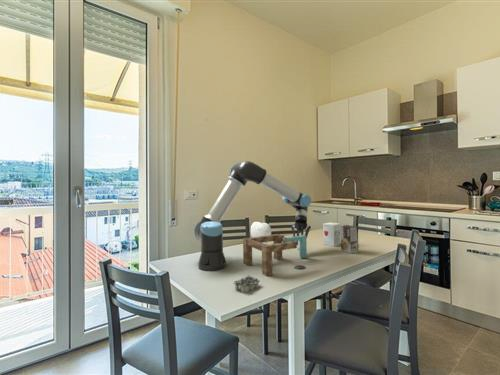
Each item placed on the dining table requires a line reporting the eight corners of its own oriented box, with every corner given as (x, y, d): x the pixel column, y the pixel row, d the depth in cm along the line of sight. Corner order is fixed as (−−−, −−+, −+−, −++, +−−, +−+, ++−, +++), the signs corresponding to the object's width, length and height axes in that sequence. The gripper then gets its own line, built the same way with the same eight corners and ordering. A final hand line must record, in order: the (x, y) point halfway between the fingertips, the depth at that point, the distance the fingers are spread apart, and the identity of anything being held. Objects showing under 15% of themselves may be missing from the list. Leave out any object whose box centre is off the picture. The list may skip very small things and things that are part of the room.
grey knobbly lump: (244, 294, 111) (244, 284, 111) (231, 289, 116) (231, 280, 116) (261, 286, 119) (261, 277, 119) (249, 282, 124) (249, 273, 124)
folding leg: (285, 261, 152) (285, 238, 152) (281, 259, 156) (280, 237, 156) (308, 257, 160) (307, 235, 160) (303, 255, 164) (303, 234, 163)
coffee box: (358, 252, 171) (358, 226, 170) (350, 253, 168) (350, 227, 168) (348, 249, 179) (348, 224, 179) (340, 250, 177) (340, 225, 177)
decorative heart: (275, 247, 188) (275, 222, 187) (263, 250, 181) (263, 224, 181) (258, 243, 202) (258, 220, 202) (247, 245, 195) (246, 221, 195)
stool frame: (267, 276, 130) (266, 247, 130) (243, 263, 152) (242, 238, 152) (308, 268, 142) (307, 241, 142) (280, 257, 164) (280, 233, 164)
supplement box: (322, 244, 194) (322, 223, 194) (329, 242, 200) (329, 222, 200) (334, 246, 187) (333, 224, 187) (341, 244, 193) (340, 223, 193)
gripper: (311, 221, 181) (310, 253, 166) (291, 221, 185) (288, 252, 169) (311, 214, 176) (309, 246, 160) (290, 214, 180) (287, 245, 164)
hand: (299, 249), depth 165 cm, fingers closed
